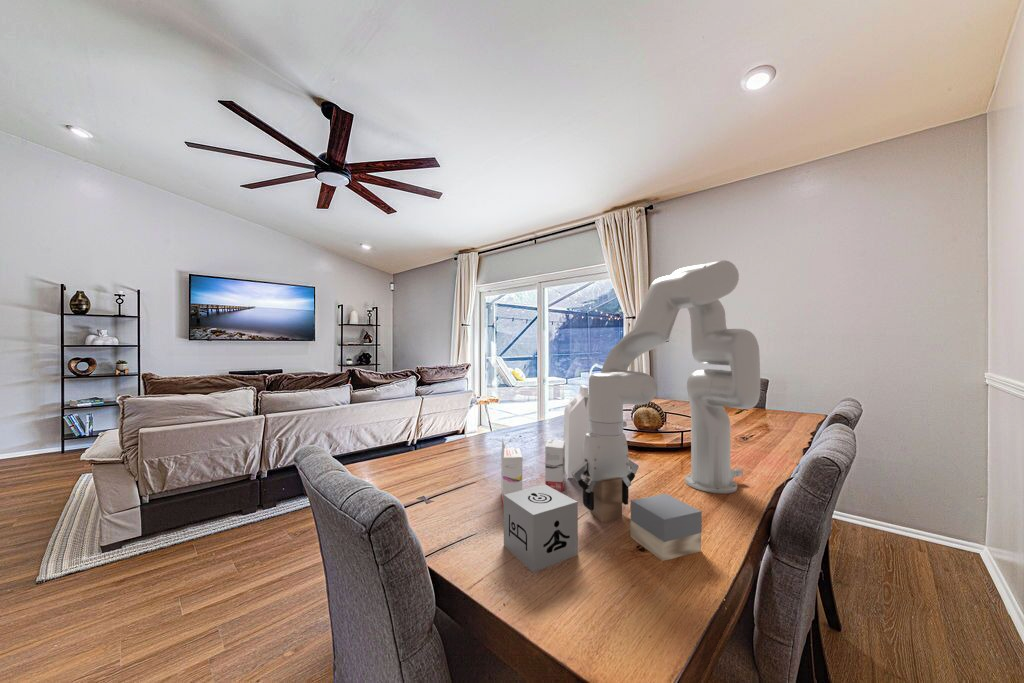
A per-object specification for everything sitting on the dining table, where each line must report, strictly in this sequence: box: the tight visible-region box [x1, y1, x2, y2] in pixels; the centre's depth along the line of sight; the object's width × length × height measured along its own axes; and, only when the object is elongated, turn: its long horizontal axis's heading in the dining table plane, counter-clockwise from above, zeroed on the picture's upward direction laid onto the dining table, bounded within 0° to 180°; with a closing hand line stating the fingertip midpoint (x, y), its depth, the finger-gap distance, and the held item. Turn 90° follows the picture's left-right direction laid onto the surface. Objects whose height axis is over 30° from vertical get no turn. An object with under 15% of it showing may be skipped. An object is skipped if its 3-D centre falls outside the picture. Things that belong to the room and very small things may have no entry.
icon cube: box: [503, 483, 579, 573], centre depth 71 cm, size 10×10×10 cm
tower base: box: [629, 518, 702, 562], centre depth 73 cm, size 9×9×4 cm
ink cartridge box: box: [500, 437, 524, 507], centre depth 94 cm, size 9×5×15 cm, turn 5°
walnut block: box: [590, 478, 623, 523], centre depth 85 cm, size 5×5×9 cm
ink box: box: [544, 438, 566, 493], centre depth 103 cm, size 9×5×12 cm, turn 168°
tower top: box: [630, 493, 703, 542], centre depth 73 cm, size 9×9×4 cm
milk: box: [563, 384, 589, 480], centre depth 114 cm, size 12×12×26 cm
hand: (606, 504), depth 85 cm, fingers open, 8 cm apart
